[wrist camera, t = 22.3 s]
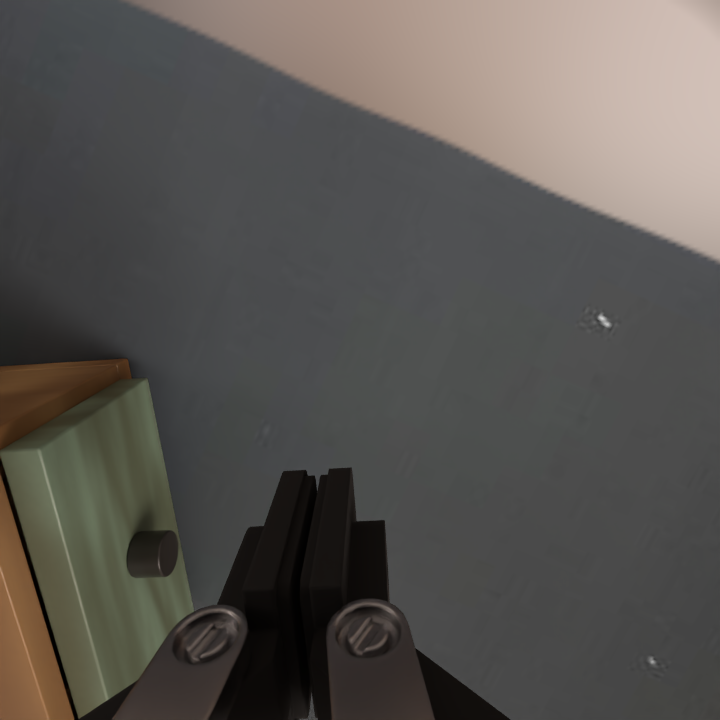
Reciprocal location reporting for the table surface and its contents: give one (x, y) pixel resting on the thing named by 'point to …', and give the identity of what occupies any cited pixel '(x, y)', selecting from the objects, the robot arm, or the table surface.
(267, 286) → the table surface
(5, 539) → the cabinet
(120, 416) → the drawer
